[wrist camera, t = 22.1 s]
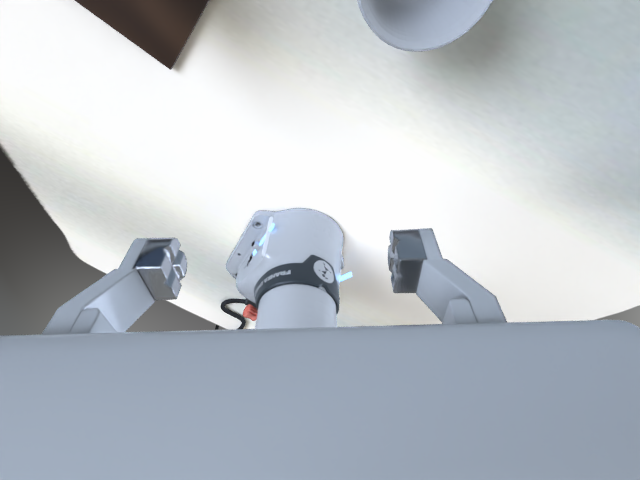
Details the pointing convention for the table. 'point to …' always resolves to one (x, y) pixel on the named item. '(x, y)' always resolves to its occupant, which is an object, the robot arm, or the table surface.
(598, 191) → the table surface
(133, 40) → the mat
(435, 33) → the teacup
